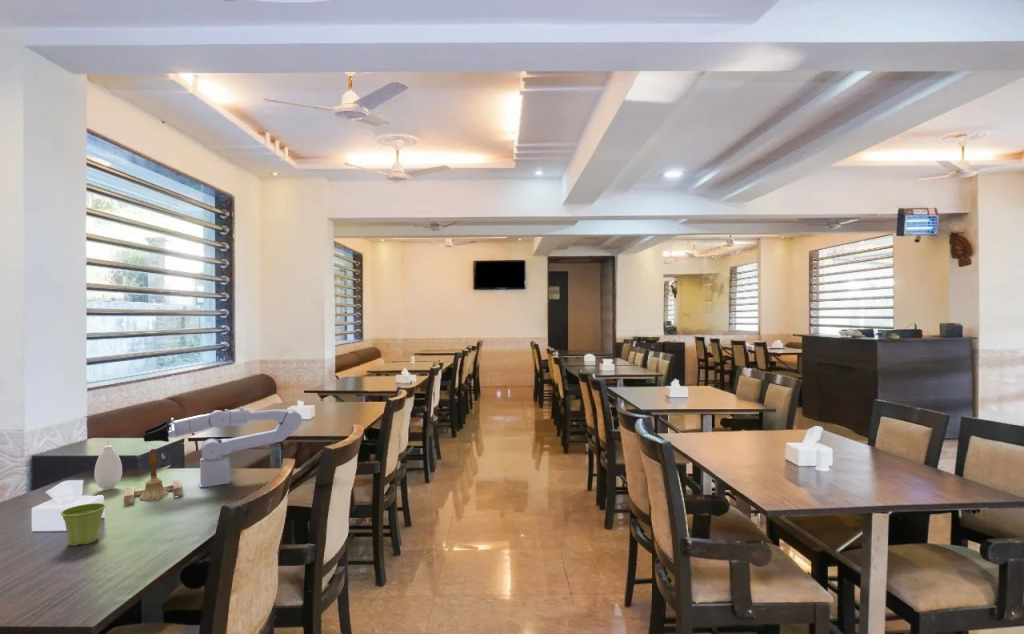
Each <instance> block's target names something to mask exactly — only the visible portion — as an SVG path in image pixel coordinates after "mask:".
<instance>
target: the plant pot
mask: <svg viewBox="0 0 1024 634" xmlns="http://www.w3.org/2000/svg"><path fill="white" fill-rule="evenodd" d="M106 506H107V505H106V504H105V503H101V502H99V503H98V502H97V503H96V502H94V503H92V502H91V503H85V504H81V505H75V506H72V507H71V506H70V507H68V508H66V509H64V510H62V511H60V516H62V519H63V520H64V523H65V524H64V525H65V529H66V534H67V543H68V545H70V546H75V547H76V546H78V545H88V544H91V543H94V542H96V541H97V540H98V539H99V535H100V529H101V521H102V517H103V513H104V509H106V508H107V507H106Z"/></svg>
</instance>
